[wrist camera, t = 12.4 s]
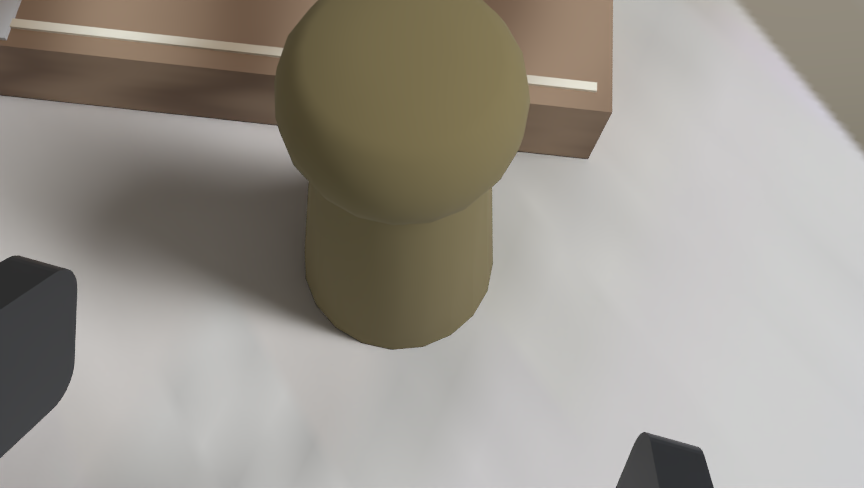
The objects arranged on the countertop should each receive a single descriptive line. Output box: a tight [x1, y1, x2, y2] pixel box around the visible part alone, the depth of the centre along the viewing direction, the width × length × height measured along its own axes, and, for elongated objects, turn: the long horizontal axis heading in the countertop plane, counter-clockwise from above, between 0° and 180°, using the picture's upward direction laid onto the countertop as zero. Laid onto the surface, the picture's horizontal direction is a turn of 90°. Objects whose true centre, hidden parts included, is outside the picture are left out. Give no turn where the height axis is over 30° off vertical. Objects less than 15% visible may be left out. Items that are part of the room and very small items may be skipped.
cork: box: [274, 0, 530, 349], centre depth 19 cm, size 6×6×11 cm
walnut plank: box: [0, 0, 613, 159], centre depth 25 cm, size 24×6×3 cm, turn 85°
